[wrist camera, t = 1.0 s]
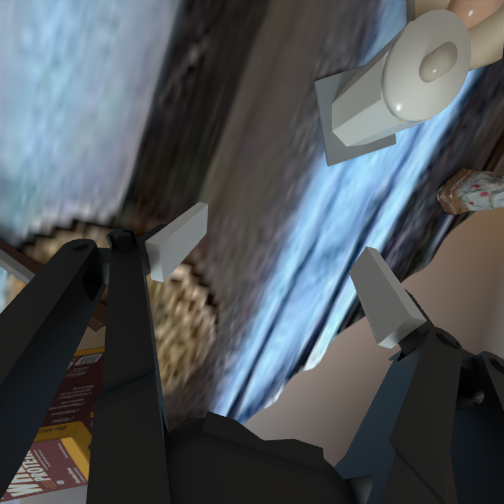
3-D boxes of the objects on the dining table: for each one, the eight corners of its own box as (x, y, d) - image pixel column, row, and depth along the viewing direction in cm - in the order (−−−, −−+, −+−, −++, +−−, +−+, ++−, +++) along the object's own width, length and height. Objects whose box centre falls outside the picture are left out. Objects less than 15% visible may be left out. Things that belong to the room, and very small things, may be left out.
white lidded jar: (320, 118, 28) (383, 64, 17) (360, 65, 27) (460, -37, 15) (356, 157, 31) (433, 133, 19) (394, 110, 29) (505, 52, 17)
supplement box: (149, 378, 40) (100, 484, 26) (75, 390, 39) (-20, 508, 24) (135, 341, 37) (71, 437, 22) (55, 353, 36) (-68, 462, 21)
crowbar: (-89, 166, 28) (-159, 158, 23) (-82, 156, 28) (-151, 145, 23) (122, 325, 36) (103, 343, 31) (129, 318, 36) (111, 335, 31)
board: (405, -31, 25) (414, -42, 23) (502, -63, 25) (516, -75, 24) (409, 90, 29) (416, 86, 28) (491, 63, 29) (502, 58, 28)
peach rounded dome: (446, -6, 25) (473, -32, 22) (480, -18, 25) (512, -45, 22) (444, 40, 26) (470, 21, 24) (477, 29, 26) (506, 9, 24)
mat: (314, 82, 27) (315, 81, 27) (389, 58, 27) (391, 56, 27) (327, 166, 31) (328, 166, 31) (393, 144, 31) (395, 143, 31)
